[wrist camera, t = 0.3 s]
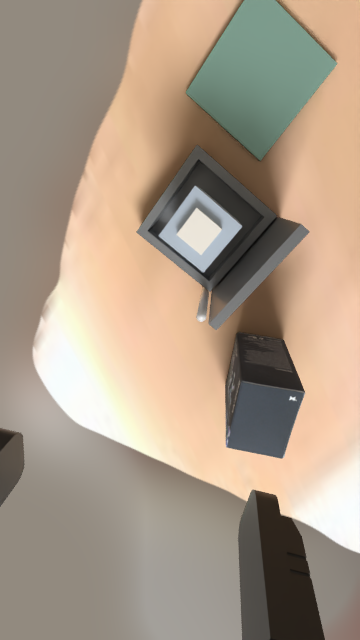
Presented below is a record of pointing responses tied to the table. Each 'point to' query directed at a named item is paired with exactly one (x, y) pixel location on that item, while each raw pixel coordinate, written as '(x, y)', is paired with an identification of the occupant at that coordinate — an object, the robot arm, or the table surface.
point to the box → (261, 395)
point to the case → (244, 248)
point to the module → (200, 229)
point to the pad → (260, 75)
